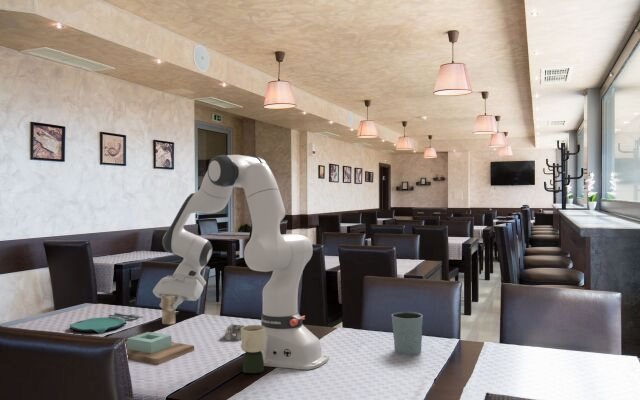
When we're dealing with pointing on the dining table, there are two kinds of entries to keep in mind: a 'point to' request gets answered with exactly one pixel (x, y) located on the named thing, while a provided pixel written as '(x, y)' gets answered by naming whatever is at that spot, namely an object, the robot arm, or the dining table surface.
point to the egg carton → (231, 330)
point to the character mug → (253, 348)
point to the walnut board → (160, 353)
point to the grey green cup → (407, 332)
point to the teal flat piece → (102, 323)
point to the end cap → (149, 342)
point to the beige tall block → (168, 310)
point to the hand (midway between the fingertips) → (167, 307)
